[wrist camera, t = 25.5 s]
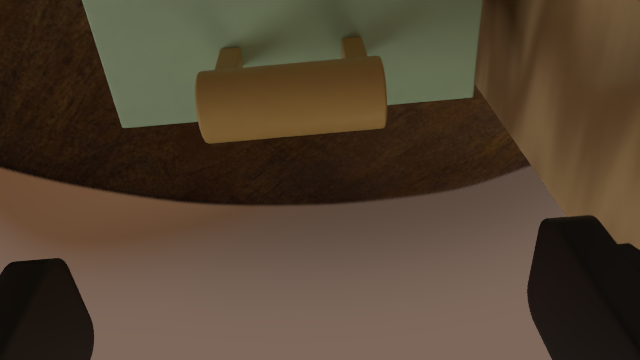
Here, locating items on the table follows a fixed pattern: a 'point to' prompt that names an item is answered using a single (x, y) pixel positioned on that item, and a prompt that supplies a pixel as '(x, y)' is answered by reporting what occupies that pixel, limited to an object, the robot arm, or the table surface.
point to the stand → (570, 99)
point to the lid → (282, 61)
